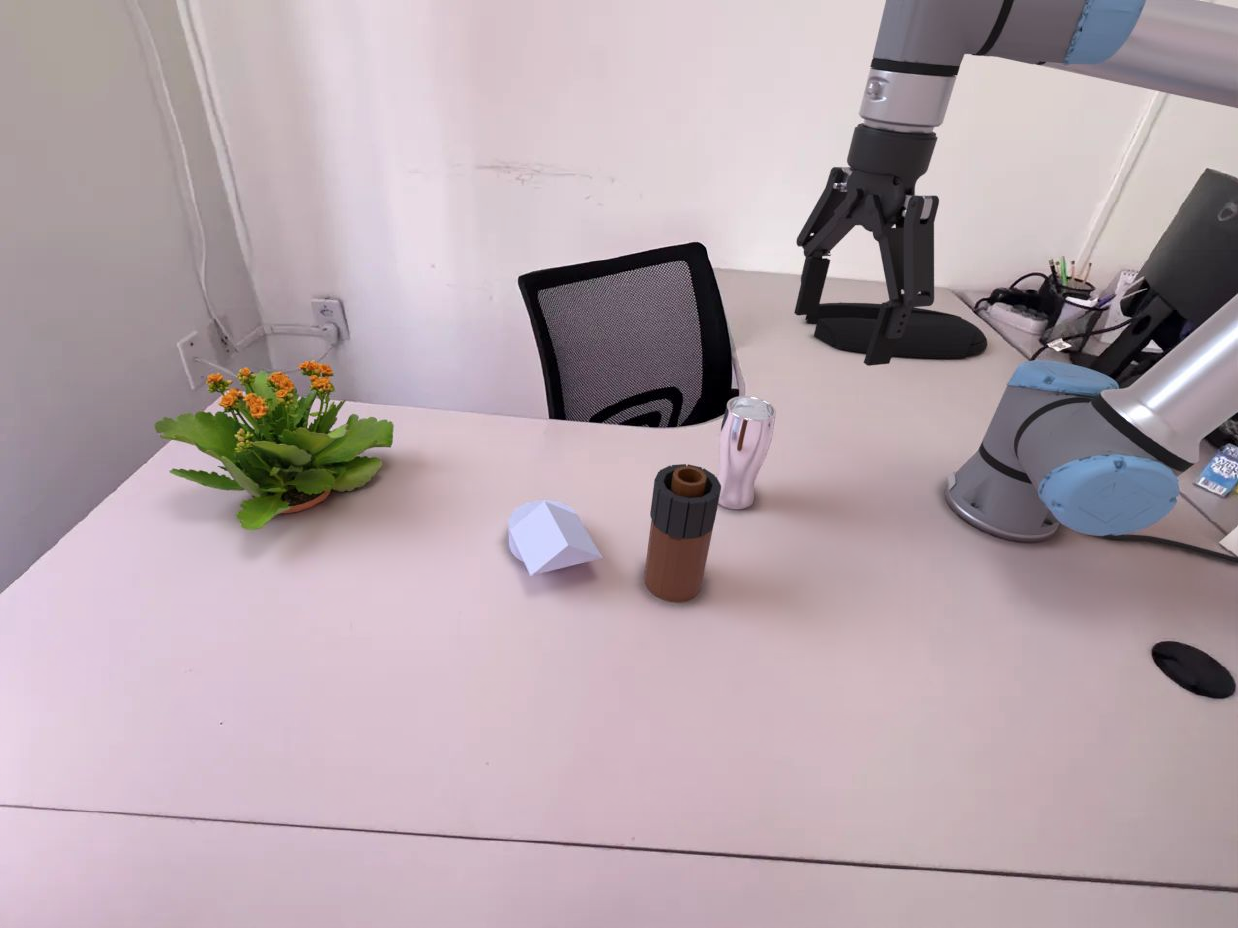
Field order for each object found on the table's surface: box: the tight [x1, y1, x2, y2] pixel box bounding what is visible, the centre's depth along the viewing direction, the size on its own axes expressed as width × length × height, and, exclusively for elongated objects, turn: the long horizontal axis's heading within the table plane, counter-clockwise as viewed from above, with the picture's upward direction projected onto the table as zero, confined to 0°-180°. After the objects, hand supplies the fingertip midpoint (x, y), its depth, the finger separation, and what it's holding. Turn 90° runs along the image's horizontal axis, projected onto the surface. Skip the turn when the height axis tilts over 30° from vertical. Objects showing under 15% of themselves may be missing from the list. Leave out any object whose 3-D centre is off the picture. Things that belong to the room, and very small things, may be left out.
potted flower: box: [153, 360, 395, 531], centre depth 83 cm, size 25×24×18 cm
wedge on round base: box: [507, 499, 604, 577], centre depth 81 cm, size 9×7×13 cm
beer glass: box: [717, 395, 777, 510], centre depth 91 cm, size 7×7×15 cm
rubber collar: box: [649, 463, 721, 539], centre depth 73 cm, size 7×7×5 cm
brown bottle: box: [644, 465, 715, 603], centre depth 75 cm, size 7×7×16 cm
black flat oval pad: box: [804, 302, 988, 359], centre depth 149 cm, size 25×40×5 cm, turn 89°
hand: (838, 337), depth 73 cm, fingers open, 13 cm apart
